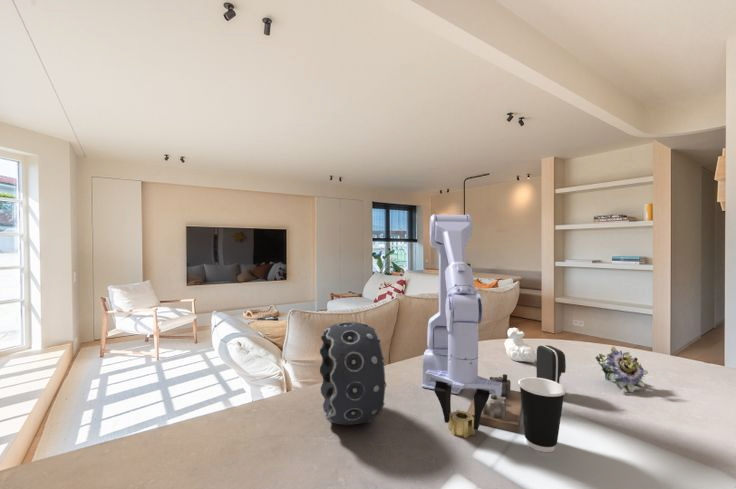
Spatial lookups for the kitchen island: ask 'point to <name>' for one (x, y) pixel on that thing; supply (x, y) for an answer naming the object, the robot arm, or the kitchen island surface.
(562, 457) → the kitchen island surface
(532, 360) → the bust
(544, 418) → the dixie cup
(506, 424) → the gear board
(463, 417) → the brass gear
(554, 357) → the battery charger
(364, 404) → the dark grey patterned wheel
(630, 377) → the passion flower
